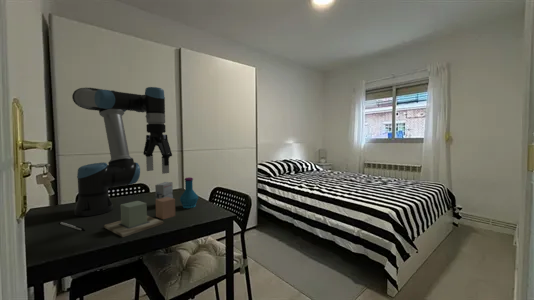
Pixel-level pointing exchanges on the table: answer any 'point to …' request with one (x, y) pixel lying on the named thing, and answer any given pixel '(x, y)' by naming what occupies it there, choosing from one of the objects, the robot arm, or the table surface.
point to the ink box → (164, 190)
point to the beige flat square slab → (126, 231)
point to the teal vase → (189, 195)
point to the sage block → (133, 213)
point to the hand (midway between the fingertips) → (157, 172)
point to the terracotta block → (165, 207)
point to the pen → (72, 226)
